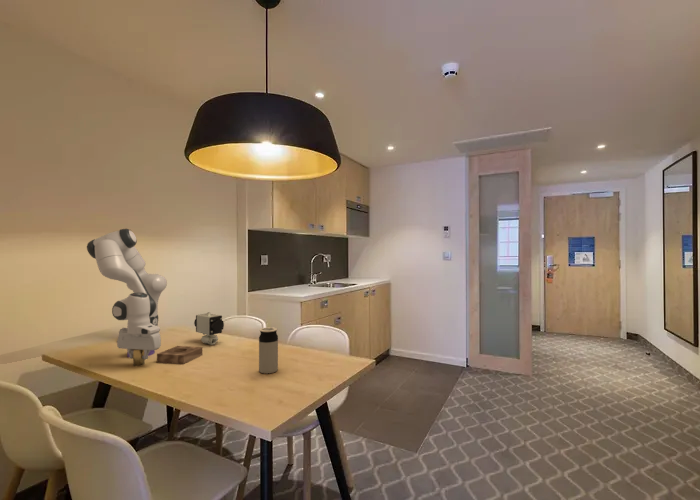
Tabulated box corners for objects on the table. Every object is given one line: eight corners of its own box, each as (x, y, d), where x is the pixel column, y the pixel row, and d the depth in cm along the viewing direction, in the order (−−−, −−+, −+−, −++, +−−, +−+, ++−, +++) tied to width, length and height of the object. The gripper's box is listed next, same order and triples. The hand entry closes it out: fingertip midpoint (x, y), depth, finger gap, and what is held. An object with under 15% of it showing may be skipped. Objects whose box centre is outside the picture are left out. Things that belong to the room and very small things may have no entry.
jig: (156, 362, 157) (156, 353, 157) (177, 353, 171) (177, 345, 171) (183, 364, 155) (183, 355, 155) (202, 355, 168) (202, 347, 168)
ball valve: (226, 344, 188) (226, 312, 188) (212, 348, 181) (212, 314, 181) (207, 339, 198) (207, 309, 198) (193, 343, 191) (193, 311, 191)
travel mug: (266, 375, 140) (266, 332, 140) (255, 371, 145) (255, 329, 146) (281, 370, 146) (281, 328, 146) (270, 366, 151) (270, 326, 152)
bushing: (130, 365, 153) (130, 350, 153) (138, 362, 157) (138, 347, 157) (139, 366, 152) (139, 350, 152) (146, 363, 156) (146, 348, 156)
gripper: (113, 329, 153) (113, 359, 153) (152, 330, 150) (152, 362, 149) (125, 326, 160) (125, 355, 159) (163, 327, 156) (163, 357, 156)
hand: (138, 358), depth 154 cm, fingers open, 5 cm apart
